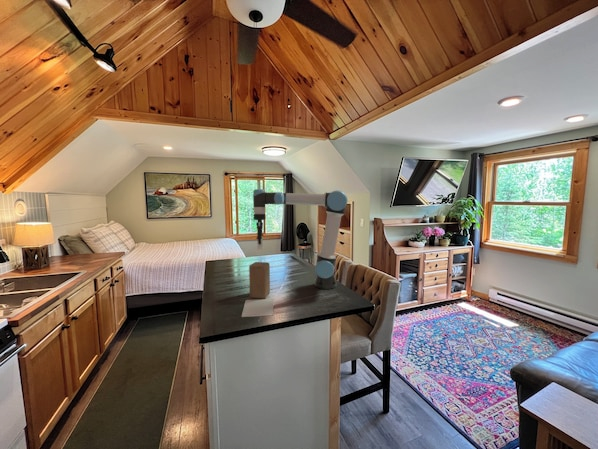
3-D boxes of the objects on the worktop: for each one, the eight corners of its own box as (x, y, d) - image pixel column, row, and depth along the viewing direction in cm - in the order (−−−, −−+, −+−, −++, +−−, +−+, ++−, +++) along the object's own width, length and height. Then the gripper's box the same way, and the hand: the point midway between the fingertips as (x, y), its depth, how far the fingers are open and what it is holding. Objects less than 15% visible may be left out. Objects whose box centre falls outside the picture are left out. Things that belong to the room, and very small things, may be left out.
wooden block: (265, 299, 147) (264, 266, 145) (249, 298, 149) (248, 265, 147) (270, 293, 157) (269, 262, 155) (255, 292, 159) (254, 261, 157)
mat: (273, 299, 148) (273, 298, 148) (273, 315, 127) (273, 314, 127) (245, 300, 146) (245, 299, 146) (241, 317, 125) (241, 316, 125)
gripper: (254, 212, 171) (255, 244, 173) (252, 214, 148) (253, 251, 150) (265, 212, 172) (266, 244, 174) (265, 214, 149) (265, 250, 151)
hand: (260, 247), depth 162 cm, fingers open, 11 cm apart
